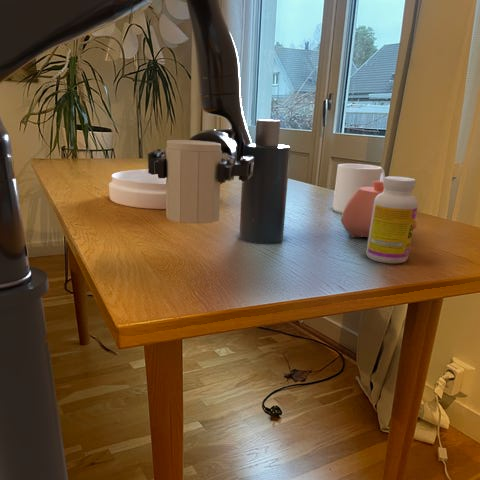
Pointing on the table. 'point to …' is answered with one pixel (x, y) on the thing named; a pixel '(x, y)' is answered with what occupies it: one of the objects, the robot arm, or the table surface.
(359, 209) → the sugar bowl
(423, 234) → the table surface
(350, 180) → the mug
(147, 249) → the table surface
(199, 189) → the beige faceted cylinder
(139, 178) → the plate
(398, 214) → the supplement bottle
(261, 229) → the flask
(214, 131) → the robot arm
